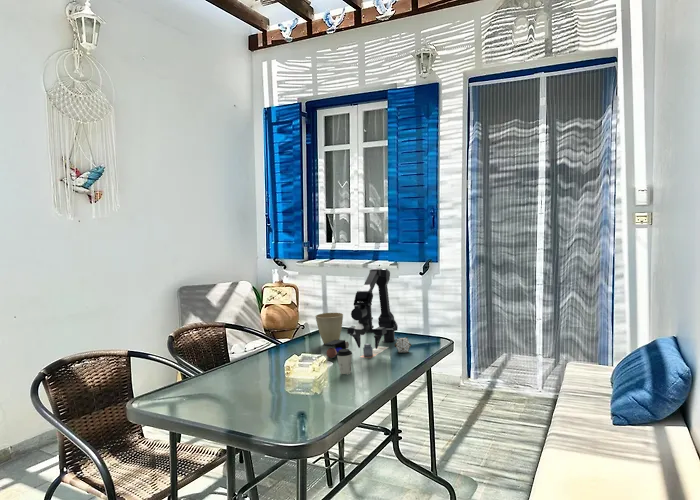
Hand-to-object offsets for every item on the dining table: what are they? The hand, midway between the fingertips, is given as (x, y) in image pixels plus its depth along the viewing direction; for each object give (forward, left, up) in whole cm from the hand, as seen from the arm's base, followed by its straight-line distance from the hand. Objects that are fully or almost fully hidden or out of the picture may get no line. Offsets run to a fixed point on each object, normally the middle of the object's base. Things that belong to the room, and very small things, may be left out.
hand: (367, 348), depth 240 cm
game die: (-10, +14, -4) cm, 18 cm away
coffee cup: (+26, +2, -4) cm, 26 cm away
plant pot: (-17, -31, -4) cm, 36 cm away
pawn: (0, 0, -4) cm, 4 cm away
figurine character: (+1, -17, -4) cm, 18 cm away
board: (-7, 0, -4) cm, 8 cm away
